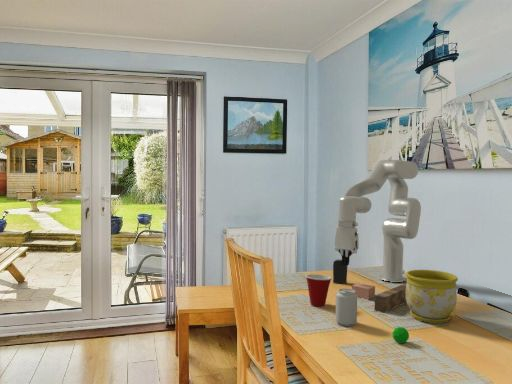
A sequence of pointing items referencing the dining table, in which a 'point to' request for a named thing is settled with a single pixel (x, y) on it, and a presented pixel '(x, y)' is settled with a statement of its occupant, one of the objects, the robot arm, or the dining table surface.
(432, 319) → the flowerpot
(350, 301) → the can
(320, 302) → the plastic cup
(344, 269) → the battery charger
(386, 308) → the brown blocky bar
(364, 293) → the terracotta block
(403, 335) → the green ball
